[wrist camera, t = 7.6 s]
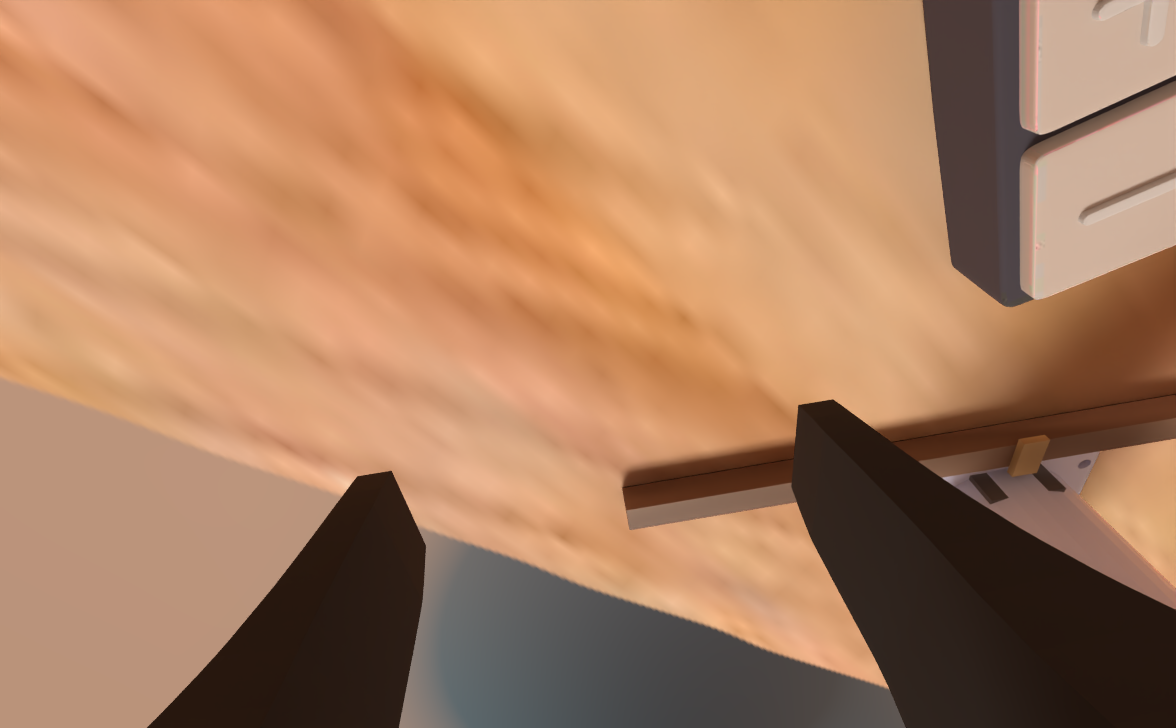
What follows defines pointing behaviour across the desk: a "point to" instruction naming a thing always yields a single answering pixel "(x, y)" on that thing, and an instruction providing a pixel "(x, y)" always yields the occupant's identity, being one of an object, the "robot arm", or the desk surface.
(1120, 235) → the calculator
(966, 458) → the track
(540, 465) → the desk surface
